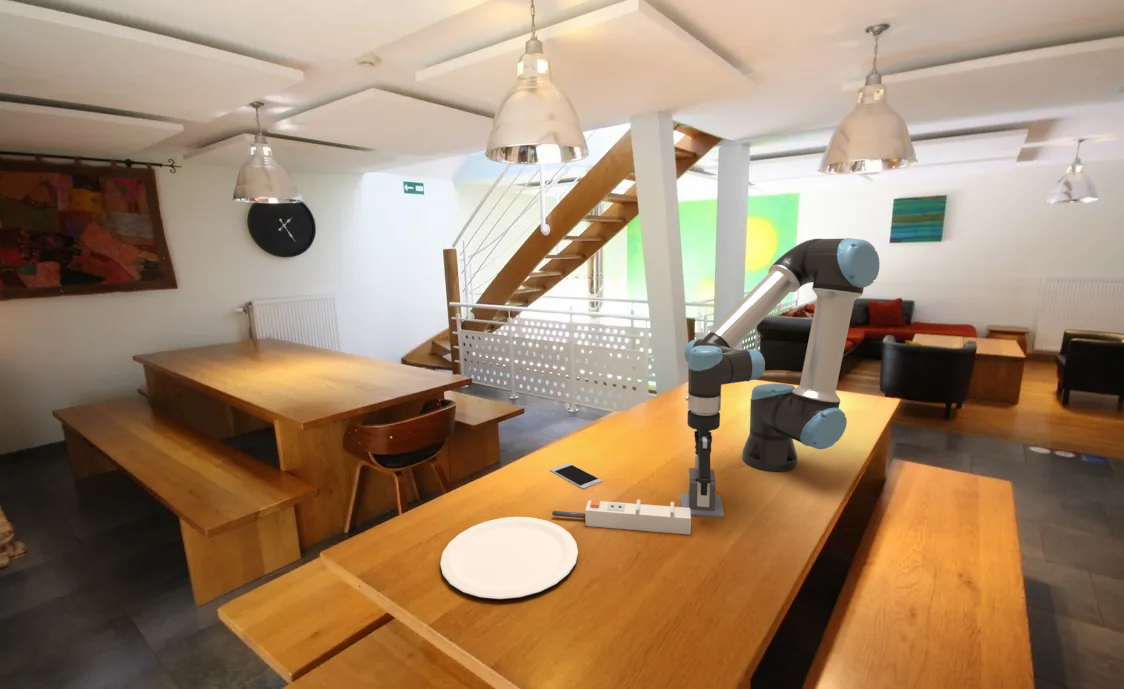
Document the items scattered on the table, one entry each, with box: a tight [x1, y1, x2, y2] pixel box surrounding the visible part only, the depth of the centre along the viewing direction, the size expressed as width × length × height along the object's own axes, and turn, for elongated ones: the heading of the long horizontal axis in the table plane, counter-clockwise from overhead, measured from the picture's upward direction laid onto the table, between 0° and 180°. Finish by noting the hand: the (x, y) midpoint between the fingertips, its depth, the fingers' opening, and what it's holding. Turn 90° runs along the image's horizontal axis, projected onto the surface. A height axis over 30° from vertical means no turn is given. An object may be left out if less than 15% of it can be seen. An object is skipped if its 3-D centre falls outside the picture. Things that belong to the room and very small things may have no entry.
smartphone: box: [549, 462, 603, 490], centre depth 150 cm, size 7×15×1 cm, turn 38°
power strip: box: [551, 499, 692, 536], centre depth 124 cm, size 33×5×5 cm, turn 78°
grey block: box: [688, 467, 717, 511], centre depth 130 cm, size 6×6×8 cm
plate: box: [439, 516, 579, 601], centre depth 113 cm, size 29×29×2 cm
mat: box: [679, 492, 725, 519], centre depth 131 cm, size 10×10×1 cm
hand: (701, 492), depth 131 cm, fingers open, 13 cm apart
